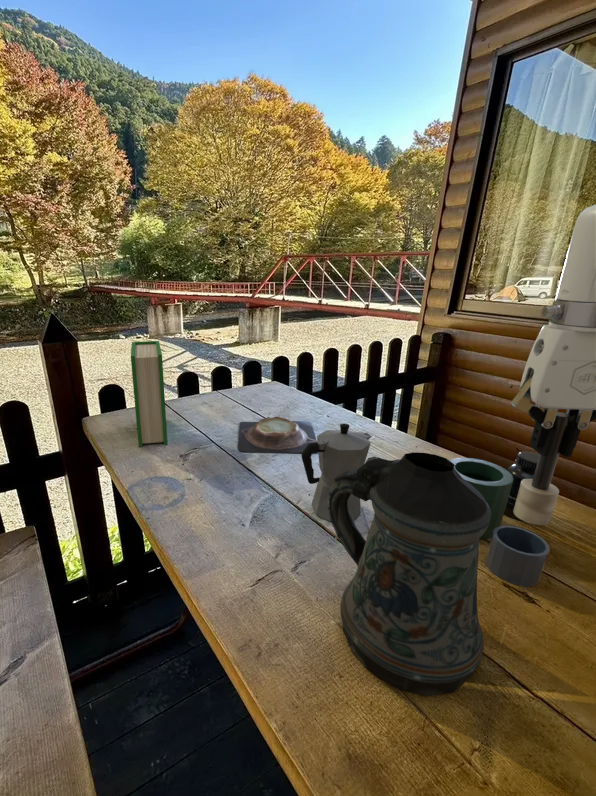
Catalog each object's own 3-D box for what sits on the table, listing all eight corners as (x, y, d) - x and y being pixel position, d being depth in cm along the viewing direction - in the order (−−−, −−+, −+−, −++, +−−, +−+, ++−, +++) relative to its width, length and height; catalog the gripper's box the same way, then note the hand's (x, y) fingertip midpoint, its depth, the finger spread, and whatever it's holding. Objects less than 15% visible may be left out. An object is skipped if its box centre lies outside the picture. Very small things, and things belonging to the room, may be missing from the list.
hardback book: (167, 444, 107) (162, 354, 98) (138, 447, 106) (130, 356, 97) (163, 420, 123) (158, 340, 115) (138, 422, 122) (131, 341, 113)
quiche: (310, 422, 121) (311, 410, 119) (321, 454, 102) (322, 439, 100) (239, 421, 122) (239, 409, 120) (237, 452, 103) (237, 437, 101)
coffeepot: (346, 490, 86) (355, 409, 79) (379, 513, 78) (392, 427, 71) (283, 508, 80) (288, 423, 73) (313, 536, 72) (321, 443, 65)
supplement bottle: (503, 521, 76) (519, 463, 71) (490, 501, 82) (504, 447, 77) (545, 526, 74) (565, 468, 70) (529, 505, 80) (546, 450, 76)
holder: (523, 558, 66) (532, 527, 64) (548, 590, 60) (560, 557, 58) (477, 554, 67) (485, 523, 65) (497, 586, 61) (507, 553, 59)
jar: (482, 510, 79) (495, 459, 75) (508, 543, 70) (525, 487, 66) (428, 506, 80) (438, 456, 76) (446, 539, 71) (459, 483, 67)
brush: (538, 508, 62) (568, 409, 56) (556, 526, 58) (590, 421, 52) (507, 506, 62) (533, 408, 57) (522, 524, 58) (552, 420, 52)
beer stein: (497, 718, 43) (565, 521, 34) (311, 672, 48) (329, 489, 39) (459, 600, 58) (500, 441, 49) (320, 574, 63) (334, 425, 54)
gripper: (536, 320, 47) (500, 462, 54) (693, 320, 45) (636, 468, 52) (504, 312, 54) (476, 438, 61) (639, 311, 52) (595, 442, 59)
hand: (550, 451), depth 56 cm, fingers closed on brush, 2 cm apart
